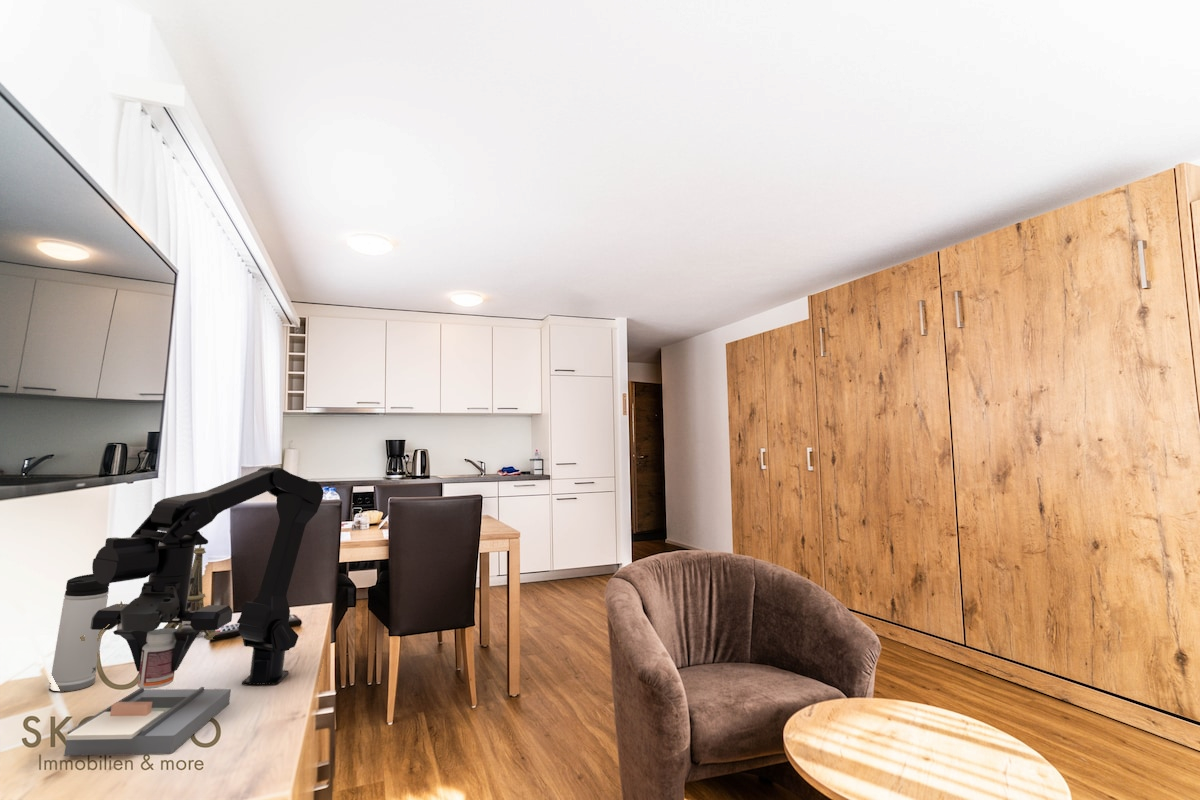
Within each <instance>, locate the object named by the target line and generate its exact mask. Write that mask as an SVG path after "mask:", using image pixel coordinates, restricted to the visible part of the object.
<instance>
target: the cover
mask: <svg viewBox="0 0 1200 800" xmlns="http://www.w3.org/2000/svg"><path fill="white" fill-rule="evenodd" d="M111 705H112V706H111ZM111 705H110V706H111V712H104V713H102V714H100V715H99V716H97V717H95V718H94V719H92V720H91V721H89V722H87V723H86V724H84V725H82V726H81V727H79V728H77V729H76V730H74V731H73V732H71V733H69V734H68V733H67V734H68V735H67V734H65V741H66V740H96V739H132V738H133V737H135V736H136V735H137V734H139V733H140V732H141V731H142V730H143V729H144V728H146V727H147V726H148V725H150V724H151V723H153V722H154V721H155V720H157V719H158V718H159V717H161V716H162V715H164V711H151V708H152V702H118V701H116V702H114V703H113V704H111Z"/></svg>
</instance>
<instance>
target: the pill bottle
mask: <svg viewBox="0 0 1200 800" xmlns="http://www.w3.org/2000/svg"><path fill="white" fill-rule="evenodd" d="M176 631H177V628H175V629H174V628H164V627H163V628H157V629H155V630H153V631H150V632H148V633H147V639H146V642H147V644H145V645H144V646H143V648H142V655H141V662H140V670H139V672H138V679H137V687H138V688H143V689H159V688H161V687H165V686H168V685H170V684H172V683H173V682H174V679H175V678H174V677H175V672H176V671H174V672H172V671H171V669H172V659H173V653H174V648H175V643H176V640H175V636H174V632H176Z"/></svg>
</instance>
